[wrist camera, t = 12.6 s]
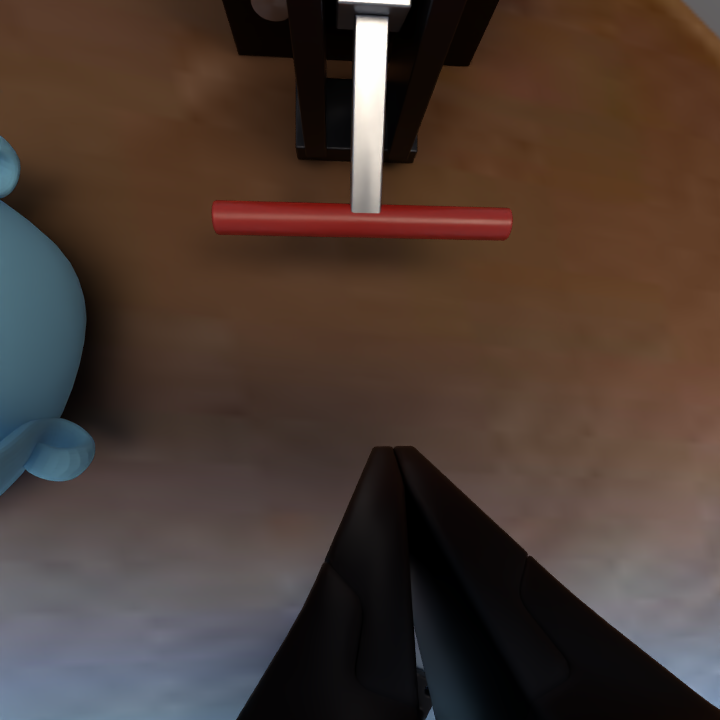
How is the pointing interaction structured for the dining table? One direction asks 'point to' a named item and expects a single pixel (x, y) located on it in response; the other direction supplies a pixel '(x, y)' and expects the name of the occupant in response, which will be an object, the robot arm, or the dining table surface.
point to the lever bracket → (334, 96)
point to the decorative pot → (37, 347)
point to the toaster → (338, 30)
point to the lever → (364, 161)
